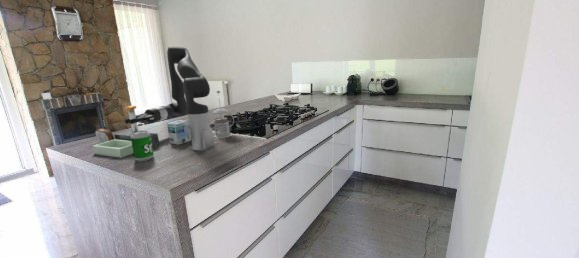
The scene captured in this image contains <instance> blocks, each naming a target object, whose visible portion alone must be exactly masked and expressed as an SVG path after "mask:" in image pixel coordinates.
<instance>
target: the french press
mask: <svg viewBox="0 0 579 258" xmlns="http://www.w3.org/2000/svg"><path fill="white" fill-rule="evenodd" d="M216 93H217V94H218V95H220V94H221V91H220V90H217V91H216ZM218 103H219V105H221V101H220V99H218ZM228 112H229V110H227V109H225V108H221V107H219V108H217V109H214V110H213V111H212V113H213V114H217V115H218V114H219V115H222V114H227V115H228V116H231V118H232V124H231V125H230V122H229V121H230V120H228V119H229V118H228V117H224V116H223V117H222V116H220V117H216V118H214V122H213V123H214V132H215V134H214V135H213V138H214V137H216V138H215V139H225V138H224V137H228V138H230V137H229V136H230V135H231V134H232V133H231V130H230V129H231V127H232V126H234V122H235V119H234V118H235V117H234V116H233V115H231V113H228Z"/></svg>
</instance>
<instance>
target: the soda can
mask: <svg viewBox="0 0 579 258" xmlns="http://www.w3.org/2000/svg"><path fill="white" fill-rule="evenodd" d="M150 133H151V132H149V131H148V130H138V131H137V132H134V133H132V135H131V142H132V147H133V152H134V153H133V155H134V156H133V157H134V160H136V161H137V162H148V161H150V160H151V159H152V158H153V157H154V155H155V153H154V149H153V148H154V147H153V148H152V142H151V136H150Z"/></svg>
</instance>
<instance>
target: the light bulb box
mask: <svg viewBox="0 0 579 258" xmlns="http://www.w3.org/2000/svg"><path fill="white" fill-rule="evenodd" d="M166 126H167V131H168V132H167V133H168V137H169V138H168V139H169V143H170V144H172V145H181V144H184V143H188V142H190V141H191V134H190V127H189V119H185V118H184V119H178V120H175V121H172V122H167V123H166Z"/></svg>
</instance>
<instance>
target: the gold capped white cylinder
mask: <svg viewBox="0 0 579 258" xmlns="http://www.w3.org/2000/svg"><path fill="white" fill-rule="evenodd" d="M124 109H125V110H127V112H128V118H129V119H134V118H136V116H135V115H136V112H135V111H136V109H137V106H136V105H128V106H125V107H124ZM130 127H131V128H130V129H131V131H132V133H134V132H137V131H139V126H138V123H134V124H130Z"/></svg>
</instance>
